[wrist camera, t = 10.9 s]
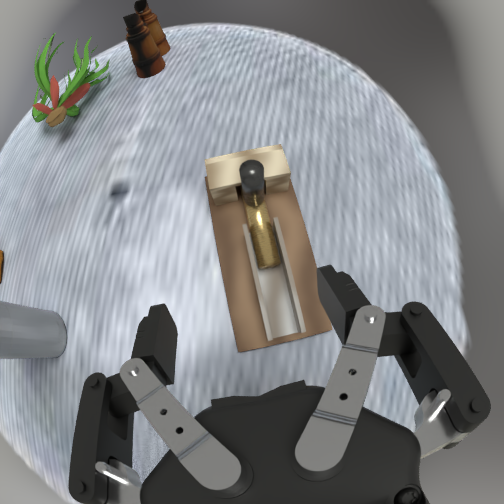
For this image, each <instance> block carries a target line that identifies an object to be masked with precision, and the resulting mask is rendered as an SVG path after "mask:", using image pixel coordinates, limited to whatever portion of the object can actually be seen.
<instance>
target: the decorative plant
mask: <svg viewBox="0 0 504 504" xmlns="http://www.w3.org/2000/svg"><path fill="white" fill-rule="evenodd" d="M54 35H55V34H53V36H52V37H51V38H50V40H49V41H48V43H47V45H46V46H45V48H44V50H43V52H42V54H41V55H40V57H39V59H38V62H37V56H36V60H35V77H36V80H37V82H38V84H39V86H40V89H42V90H43V92H44V93H45V94H44V96H43V97H42V96H40V98H42V100H41V103H37V94H38V89H37V92H36V97H35V101H34V105H33V110H32V116H33V118H34V117H36V116H37V117H36V118H34V120H35V122H40V121H42V120H44V119H45V118H46V117H47V116H48V117H47V119H46V123H48V124H49V126H50V127H54V126H56V125H58V124H60V123H62V122H63V121H64V119H65V116H66V115H68V116H76V115H78V113H79V107H77V106H76V105H75V103H77V102H78V101H79V100H80V99H81V98H82V97H84V95H85V94H86V93H87V92H88V91H89V88H90V87H91V86H93V85H95V84H97V83H99V82H101V81H103V80H104V79H106V78H107V76H108V75H109V73H108V75H107V76H106V77H105V78H103V79H101V80H98V79H96V80H95V81H93V82H91V83H88V82H90V81H92V80H94V79H95V78H97V77H98V76H100V75H101V74H103V73H104V72H105V71H106V70H107V69H108V67H109V61H108V62H107V65H106V66H105V67H104V68H103V69H101V70H100V71H98V72H97V73H95V72H93V71H94V70H95V69H97V68H98V66H99V64H98V62H97V60H96V58H95V64H96V68H95V69H94V70H93V71H91V72H89V69H90V66H89V68H88V70H87V67H88V64H89V56H88V53H89V52H88V44H89V42H90V39H91V38H90V39H89V40H88V42H87V43H86V45H85V49H84V59H83V58H81V60H80V58H79V56H78V53H77V50H76V46H77V43H76V46H75V49H74V56H73V60H74V57H75V60H76V63H77V65H76V63H75V60H74V63H75V65H76V68H77V70H76V72H75V76H74V78H73V80H72V81H71V79H70V76H69V72H68V78H69V82H68V87H67V85H66V91H65V93H64V94H62V95H61V97H60V98H59V85H58V82H57V81H56V79H55V77H54V76H53V77H52V78H51V83H50V81H49V77H48V67H49V63H50V61H51V58H52V57H53V55H54V53H55V52H56V50H57V49H58V47H59V46H60V45H61V44H62V43H64V42H62V43H61V44H60V45H58V46H57V48H56V49H55V50H54V51H53V53H52V54H51V56H50V58H49V55H48V59H49V60H48V61H47V63H46V65H45V58H46V53H47V50H48V47H49V45H50V49H51V45H52V41H53V38H54ZM50 42H51V44H50ZM94 50H95V49H94ZM94 50H92V52H93V51H94ZM92 52H91V53H92ZM49 54H50V50H49ZM37 55H38V53H37ZM90 58H91V57H90ZM109 60H110V59H109ZM81 61H82V63H81ZM36 62H37V65H36ZM90 64H91V59H90ZM80 65H81V67H80ZM79 69H80V71H79ZM88 73H89V74H90V75H89V74H88ZM87 75H88V76H87ZM64 78H65V77H64ZM65 83H66V82H65ZM47 96H48V97H49V98H50V100H51V101H52V105H53V108H49V107H48V104H49V102H50V101H49V102H48V104H47V106H46V105H45V103H46V100H47V98H48V97H47ZM46 97H47V98H46ZM58 100H59V101H58ZM36 103H37V104H36ZM37 110H38V111H37ZM42 113H43V114H42Z"/></svg>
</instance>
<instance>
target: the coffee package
mask: <svg viewBox="0 0 504 504" xmlns="http://www.w3.org/2000/svg"><path fill="white" fill-rule="evenodd" d="M2 260H3V251H2V250H0V282H1V264H2Z"/></svg>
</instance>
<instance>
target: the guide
mask: <svg viewBox="0 0 504 504" xmlns="http://www.w3.org/2000/svg"><path fill="white" fill-rule="evenodd" d="M247 160H257V161H259V162H261V163H262V165H263V167H264V199H265V203H266V206H267V210H268V214H269V218H270V222H271V226H272V229H273V233H274V237H275V241H276V245H277V249H278V253H279V257H280V261H281V264H280V265H278V266H275V267H272V268H268V269H259V268H258V264H257V259H256V255H255V251H254V246H253V242H252V237H251V233H250V229H249V224H248V220H247V216H246V211H245V207H244V203H243V198H242V194H241V190H240V185H241V179H240V173H239V168H240V165H241V164H242V163H243V162H245V161H247ZM205 165H206V171H207V177H205V181H206V187H207V193H208V199H209V205H210V211H211V217H212V222H213V228H214V234H215V239H216V245H217V250H218V255H219V261H220V266H221V271H222V276H223V281H224V286H225V291H226V296H227V301H228V306H229V311H230V316H231V320H232V325H233V330H234V334H235V339H236V343H237V348H238V352H243V351H248V350H253V349H257V348H262V347H267V346H271V345H276V344H280V343H284V342H288V341H292V340H296V339H300V338H304V337H308V336H312V335H316V334H319V333H323V332H326V331H330V330H332V326H331V322H330V319H329V317H328V316H327V314H326V312H325V310H324V308H323V306H322V304H321V302H320V300H319V296H318V288H317V272H316V270H317V266H316V263H315V259H314V255H313V252H312V248H311V245H310V241H309V238H308V234H307V231H306V227H305V224H304V221H303V217H302V214H301V211H300V208H299V204H298V201H297V198H296V195H295V192H294V189H293V185H292V182H291V179H290V175H291V172H290V169H289V166H288V163H287V160H286V157H285V154H284V152H283V149H282V146H281V144H279V145H273V146H267V147H262V148H256V149H251V150H246V151H241V152H236V153H232V154H227V155H222V156H218V157H214V158H209V159H205Z"/></svg>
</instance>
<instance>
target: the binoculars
mask: <svg viewBox="0 0 504 504" xmlns="http://www.w3.org/2000/svg"><path fill="white" fill-rule="evenodd" d="M134 8H135V11H136V13H134V14H131V15H128V16H125V17H123V18H124V21H125V23H126V26H127V28H126V30H127V31H128V34H127V35H126V36H127V37H126V40H127V42H128V45H129V48H130V51H131V55H132V58H133V60H132V61H133V63H134V65H135V68H136V71H137V75H138V77H140V78H148V77H151V76H154V75H156V74H158V73H159V72H161V71H162V70H163V69H164V67H165V62H164V60H163V58H162V56H163V55H165V54H166V53H167V52H169V50H170V46H169V44H168V42H167V40H166V35H165V34H164V33H163V30H162V28H161V26H160V24H159V22H158V20H157V16H156V15H155V14H154V13H152V12H151V9H149V7H148V3H147V1H146V0H139V1H136V2H135V5H134Z"/></svg>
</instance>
